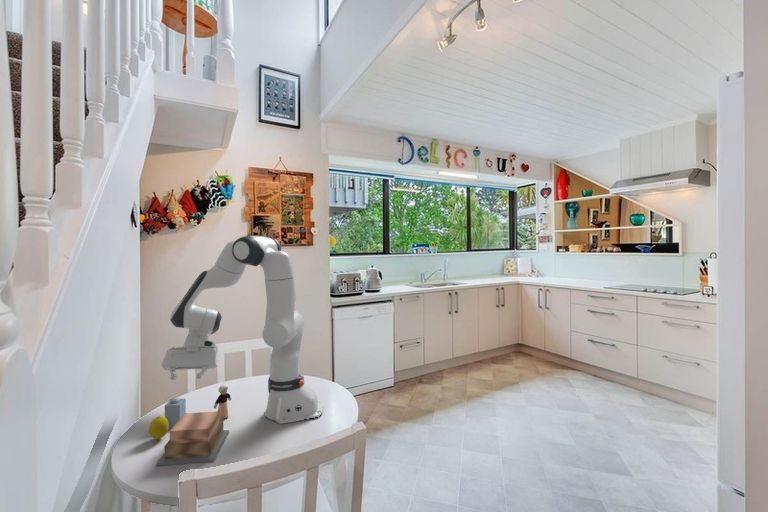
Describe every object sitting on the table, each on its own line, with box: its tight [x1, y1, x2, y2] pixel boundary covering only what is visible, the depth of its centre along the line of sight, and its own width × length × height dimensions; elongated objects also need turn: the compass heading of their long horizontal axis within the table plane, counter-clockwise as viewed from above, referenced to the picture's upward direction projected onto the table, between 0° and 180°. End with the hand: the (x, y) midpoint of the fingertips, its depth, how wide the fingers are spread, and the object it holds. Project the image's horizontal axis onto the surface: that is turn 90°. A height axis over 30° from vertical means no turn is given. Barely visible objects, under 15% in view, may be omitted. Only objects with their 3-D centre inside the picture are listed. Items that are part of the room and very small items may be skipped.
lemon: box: [148, 415, 170, 441], centre depth 114 cm, size 6×6×8 cm
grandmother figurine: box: [213, 384, 232, 422], centre depth 129 cm, size 8×4×13 cm, turn 168°
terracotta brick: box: [163, 410, 224, 459], centre depth 110 cm, size 13×13×8 cm
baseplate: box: [156, 429, 230, 467], centre depth 110 cm, size 16×16×1 cm
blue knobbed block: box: [164, 397, 187, 428], centre depth 124 cm, size 5×5×9 cm
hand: (185, 379), depth 133 cm, fingers open, 8 cm apart
